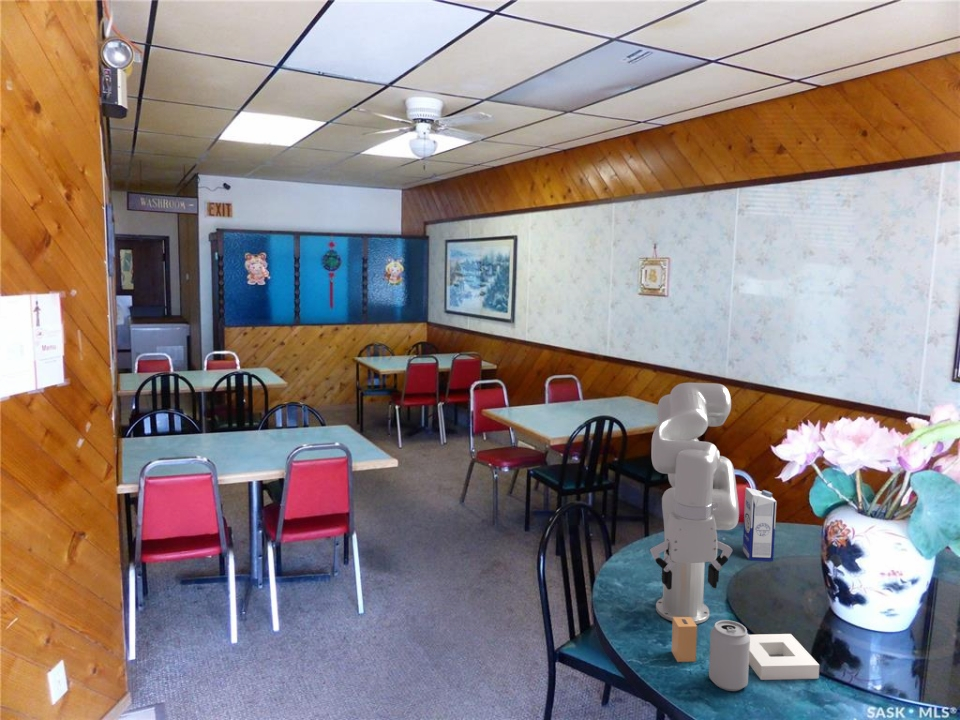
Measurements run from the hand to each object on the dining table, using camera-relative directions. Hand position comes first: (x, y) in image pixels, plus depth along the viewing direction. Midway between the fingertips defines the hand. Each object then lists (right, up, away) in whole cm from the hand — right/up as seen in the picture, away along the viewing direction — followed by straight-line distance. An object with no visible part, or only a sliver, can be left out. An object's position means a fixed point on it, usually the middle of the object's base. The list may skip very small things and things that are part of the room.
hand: (689, 585), depth 142 cm
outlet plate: (+19, -17, +1) cm, 25 cm away
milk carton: (+37, -10, +55) cm, 67 cm away
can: (+6, -18, -6) cm, 20 cm away
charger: (0, -16, +3) cm, 17 cm away
